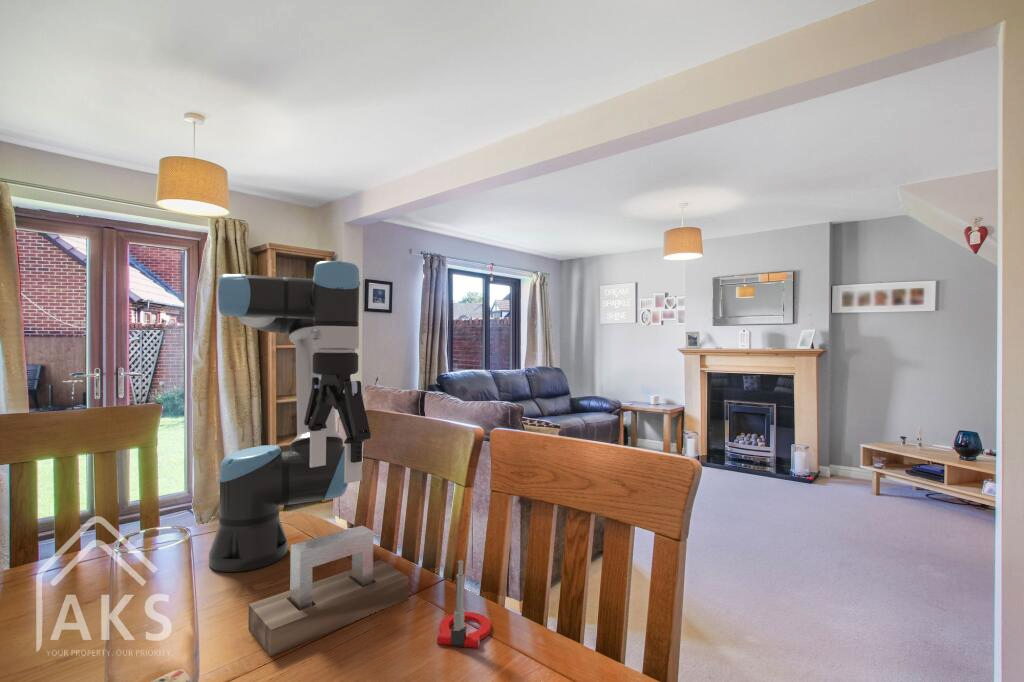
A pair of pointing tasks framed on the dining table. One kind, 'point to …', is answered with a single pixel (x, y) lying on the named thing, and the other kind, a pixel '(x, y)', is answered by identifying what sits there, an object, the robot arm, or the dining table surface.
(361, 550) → the clip
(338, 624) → the slotted wooden block
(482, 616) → the tow hook
